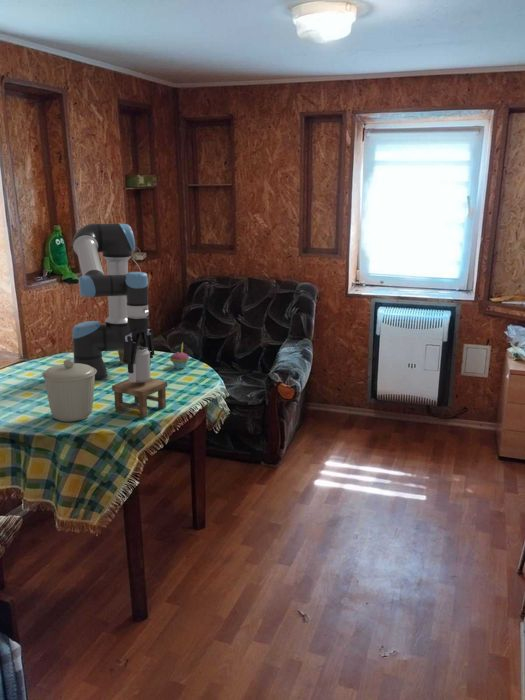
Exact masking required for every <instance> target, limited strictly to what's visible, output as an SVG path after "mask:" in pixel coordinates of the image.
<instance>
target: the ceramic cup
mask: <svg viewBox="0 0 525 700" xmlns="http://www.w3.org/2000/svg"><path fill="white" fill-rule="evenodd" d="M117 353H118V358H119V363H120V364H122V363H123V354H124V350H117ZM123 365H127V364H126V363H123Z"/></svg>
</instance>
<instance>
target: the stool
mask: <svg viewBox="0 0 525 700" xmlns="http://www.w3.org/2000/svg"><path fill="white" fill-rule="evenodd" d="M166 388H168V381H166V380H162V379H156V378H151V377H150V378H149V379H148V380H147V381H145V382H132V381H129V378H128V379H125V380H123V381H120V382H118V383H115V384H113V385H111V391H112V392H114V393H113V394H114V412H115V413H122V412H123V411H124V408H127V409H131V410H136V411H138V418H141V419H145V418H147V417H148V400H150V401H155V402H157V408H158V409H161V410H162V409H163V410H164V409H166V407H167V404H166V403H167V402H166V401H167V399H166V395H167V394H166ZM154 393H155V394H156V393H157V396H155V395H152V394H154ZM123 394H125V395H130V396H134V403H136V404H132V403H128V402H124V399H123V398H124V397H123ZM138 403H139V404H138ZM137 404H138V405H137Z"/></svg>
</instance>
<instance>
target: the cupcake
mask: <svg viewBox="0 0 525 700" xmlns="http://www.w3.org/2000/svg"><path fill="white" fill-rule="evenodd" d="M183 349H184V342H182V343H181V348H180V352H179V351H177V352H175V353H173V354H171V356H170V360H169V361H171V362H172V364H173V367H174V369H176V368H183V369H185V368H186V365H187V363H188V361H189V360H190V356H189V355H188V354H187V353H185V352H183ZM184 367H185V368H184Z"/></svg>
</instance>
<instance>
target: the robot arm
mask: <svg viewBox="0 0 525 700" xmlns="http://www.w3.org/2000/svg"><path fill="white" fill-rule="evenodd" d="M73 236H74V237H73V239H72V248H73V251H74V253H75V254H76V255H77V257H78V262H79V267H80V270H81V274H82V275H81V276H79V278H78V289H79V290H78V291H79V294H80V296H81V297H83V298H97V297H98V298H100V297H108V298H107V299H108V301H107V302H108V304H107V305H108V317H106V318H105V324H101V321H98V320H91V321H90V320H89V321H88V320H87V321H83V322H81V323H77V324H76V325H74V326H73V327H72V335H71V338H72V346H73V347H72V348H73V361H74V363H80V364H86V365H89V366H91V367H93V368H95V369H96V370H97V372H96V374H95V380H94V381H97V380H101V379H104V378H106V377H107V376H108V371H107V367H106V366H105V362H104V360H103V352H116V351H117V352H118V350H124V354H123V363H126V364H125V365H127V373H128V379H129V381H132V382H136V364H134V361H135V355H136V352H137V347H138V346H142V347H147V348H148V349H147V350H148V351H149V352H150V366H151V364H152V363H151V359H153V358H154V356H155V354H156V353H155V346H154V338H153V334H154V331H153V329H151V328H149V326H150V317H149V280H148V279H149V278H148V274H147V273H146V272H143V271H130V272H129V266H128V264H129V260H130V259H131V258H132V253H134V252H136V241H135V237H134V236H135V235H134V232H133V229H132V227H131V226H130V225H129V224H127V223H119V222H117V223H88V224H86V225H84V226H81V228H80V229H78V231H76V232H75V234H74V235H73ZM99 253H102V258H104V260H106V274H105V273H104V270H103V266H102V263H101V259H100V256H99ZM142 350H144V349H142Z"/></svg>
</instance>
